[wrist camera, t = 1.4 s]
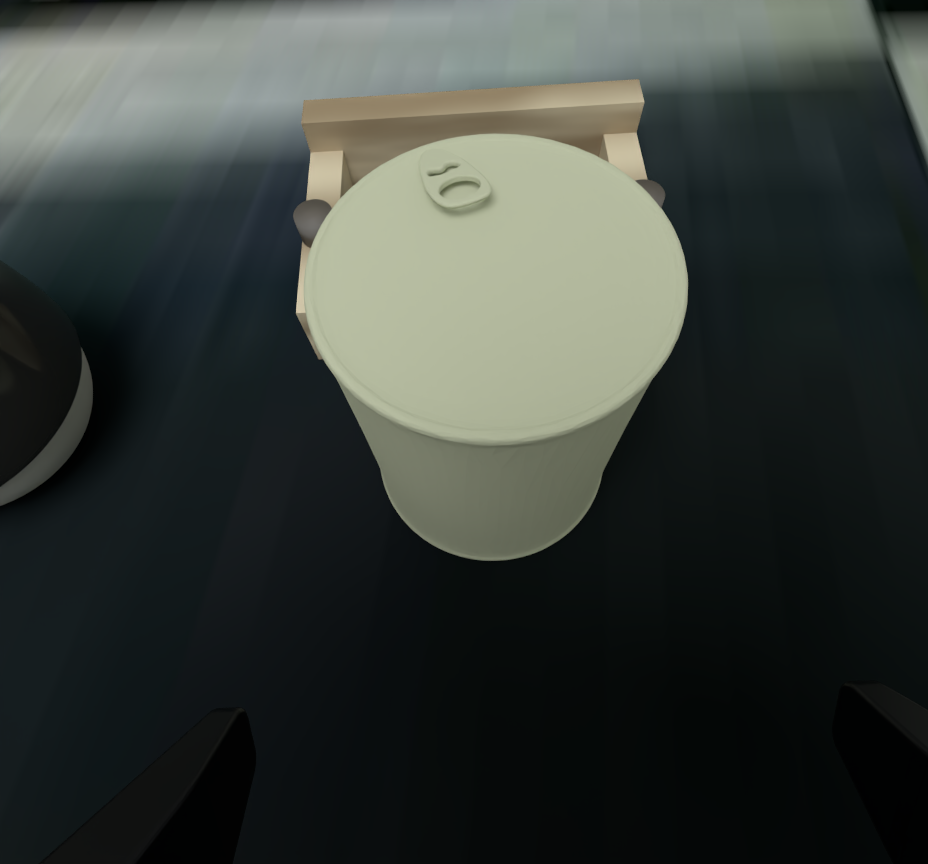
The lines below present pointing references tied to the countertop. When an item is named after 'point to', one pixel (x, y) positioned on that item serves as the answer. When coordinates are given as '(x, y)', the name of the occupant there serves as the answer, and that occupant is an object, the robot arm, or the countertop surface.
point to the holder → (453, 115)
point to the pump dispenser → (37, 386)
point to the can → (494, 330)
